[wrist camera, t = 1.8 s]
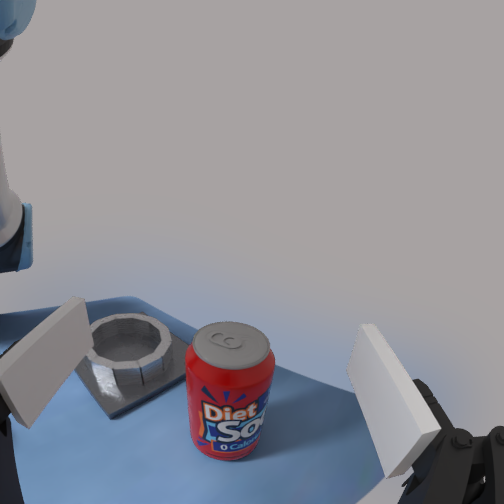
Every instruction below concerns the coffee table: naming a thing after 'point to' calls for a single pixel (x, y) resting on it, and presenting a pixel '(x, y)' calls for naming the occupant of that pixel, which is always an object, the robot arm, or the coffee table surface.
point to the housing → (130, 361)
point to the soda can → (228, 388)
